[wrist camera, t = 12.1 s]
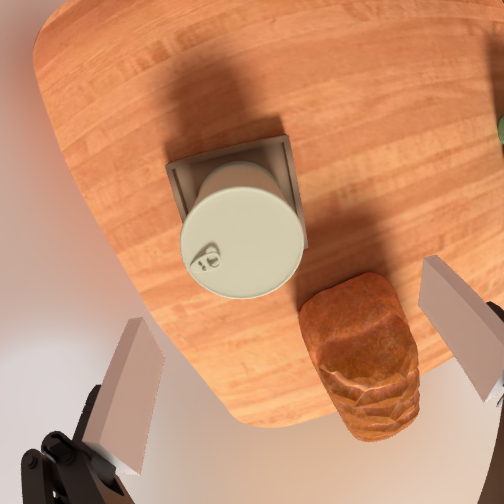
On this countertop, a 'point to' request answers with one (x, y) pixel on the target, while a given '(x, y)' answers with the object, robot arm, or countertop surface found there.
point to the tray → (257, 151)
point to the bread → (364, 355)
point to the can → (241, 233)
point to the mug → (501, 130)
